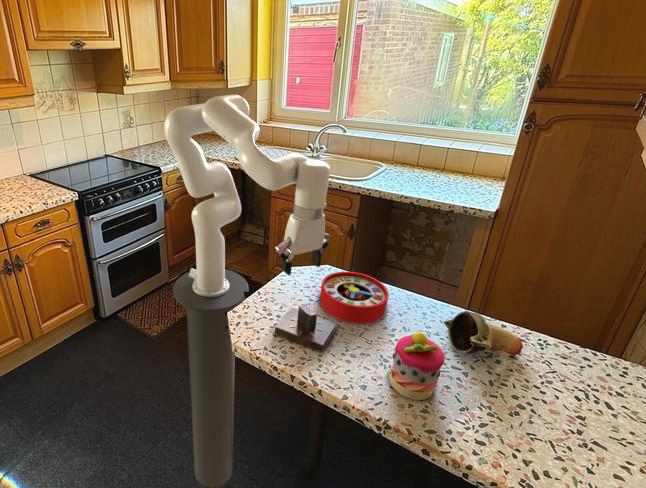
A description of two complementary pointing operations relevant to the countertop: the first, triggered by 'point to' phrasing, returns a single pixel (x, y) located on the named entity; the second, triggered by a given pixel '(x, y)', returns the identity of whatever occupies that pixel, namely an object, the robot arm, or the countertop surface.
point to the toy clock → (353, 297)
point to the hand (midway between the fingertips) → (301, 268)
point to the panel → (305, 331)
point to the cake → (416, 366)
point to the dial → (307, 317)
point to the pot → (480, 335)
